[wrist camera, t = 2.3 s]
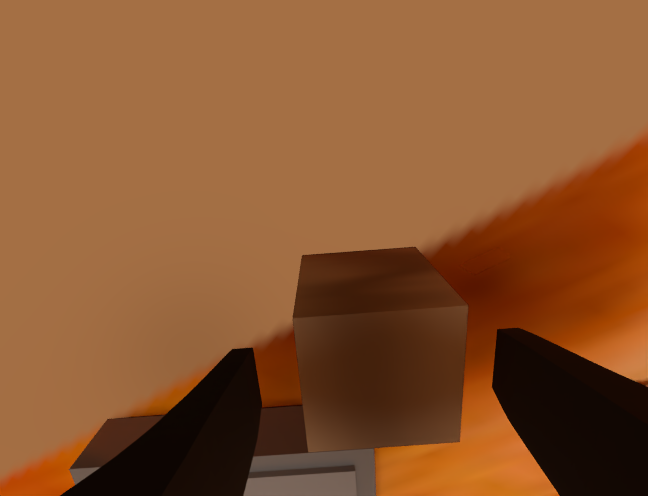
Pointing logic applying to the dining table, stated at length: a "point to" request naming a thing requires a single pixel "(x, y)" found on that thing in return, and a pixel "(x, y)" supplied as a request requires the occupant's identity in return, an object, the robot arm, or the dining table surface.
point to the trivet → (258, 457)
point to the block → (378, 350)
